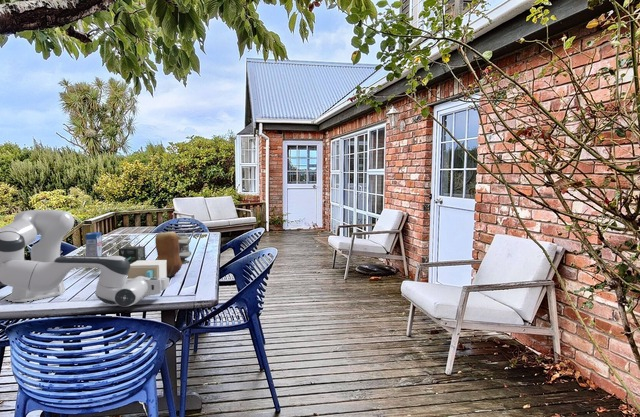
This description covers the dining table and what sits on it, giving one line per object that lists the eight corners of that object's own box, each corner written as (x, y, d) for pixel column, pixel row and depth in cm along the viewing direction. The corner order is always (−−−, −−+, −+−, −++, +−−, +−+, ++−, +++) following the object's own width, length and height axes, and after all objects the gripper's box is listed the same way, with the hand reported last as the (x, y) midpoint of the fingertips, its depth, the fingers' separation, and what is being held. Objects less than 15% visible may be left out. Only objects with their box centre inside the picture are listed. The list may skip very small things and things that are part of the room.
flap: (154, 293, 176) (153, 269, 176) (123, 294, 175) (123, 270, 174) (158, 289, 182) (157, 266, 182) (129, 290, 181) (128, 267, 180)
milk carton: (97, 265, 241) (96, 234, 240) (86, 266, 239) (85, 234, 238) (102, 262, 251) (101, 232, 249) (92, 263, 249) (90, 232, 248)
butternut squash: (160, 273, 220) (159, 230, 218) (184, 273, 221) (183, 229, 220) (152, 279, 206) (151, 233, 205) (178, 279, 208) (177, 232, 206)
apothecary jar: (168, 263, 250) (167, 235, 249) (184, 260, 259) (184, 233, 258) (177, 265, 242) (177, 237, 241) (195, 262, 251) (194, 235, 250)
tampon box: (146, 270, 228) (145, 246, 227) (137, 274, 219) (136, 248, 218) (128, 270, 229) (127, 245, 228) (119, 273, 220) (118, 248, 219)
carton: (159, 292, 183) (158, 264, 182) (128, 292, 181) (127, 265, 181) (167, 285, 195) (166, 259, 194) (138, 286, 193) (137, 260, 193)
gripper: (114, 295, 165) (127, 286, 178) (164, 293, 167) (173, 285, 180) (113, 280, 164) (126, 272, 178) (163, 279, 166) (172, 271, 180)
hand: (150, 279), depth 179 cm, fingers closed on flap, 2 cm apart
